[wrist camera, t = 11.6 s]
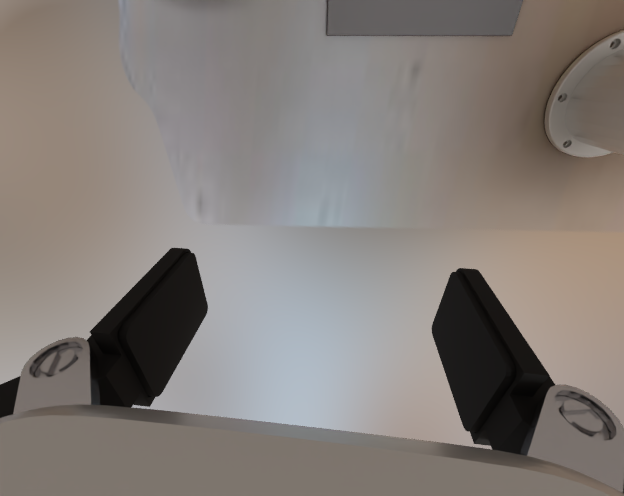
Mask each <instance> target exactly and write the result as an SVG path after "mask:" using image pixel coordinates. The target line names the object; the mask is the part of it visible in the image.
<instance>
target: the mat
mask: <svg viewBox="0 0 624 496" xmlns="http://www.w3.org/2000/svg"><path fill="white" fill-rule="evenodd" d="M522 2H523V0H328V28H327V36H511V35H512V34H513V31H514V28H515V24H516V21H517V18H518V15H519V12H520V9H521V5H522Z"/></svg>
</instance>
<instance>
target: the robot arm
mask: <svg viewBox="0 0 624 496" xmlns="http://www.w3.org/2000/svg"><path fill="white" fill-rule="evenodd" d="M558 97H559V98H558ZM544 123H545V130H546V134H547V136H548V139H549V141H550V142H551V143H552V144H553V146H554V147H556V148H557V149H558V150H560V151H561V152H564V153H566V154H569V155H572V156H576V157H584V158H591V157H599V156H604V155H607V154H611V153H614V152H615V153H618V154H621V155H624V30H622V31H619V32H617V33H614V34H611V35H610V36H608V37H606V38H604V39H602V40H601V41H599V42H597V43H596V44H594V45H593V46H592V47H590V48H589V49H588V50H586V51H585V52H584V53H582V54H581V55H580V56H579V57H578V58H577V59H576V60H575V61H574V62H573V63H572V64H571V65H570V66H569V68H568V69H567V70H566V71H565V72H564V74H563V75H562V76H561V78H560V79H559V81H558V82H557V84H556V86H555V87H554V89H553V91H552V93H551V96H550V98H549V100H548V104H547V107H546V111H545V121H544ZM207 309H208V305H207V301H206V297H205V293H204V289H203V285H202V281H201V277H200V273H199V269H198V265H197V261H196V257H195V255H194V253H191V251H190V250H189V249H182V248H171V249H170V250H169V251H168V252H167V253H166V254H165V255H164V256H163V257H162V258H161V259H160V260H159V261H158V262H157V264H155V265H154V266H153V267H152V268H151V270H150V271H149V272H148V273H147V274H146V275H145V276H144V277H143V278H142V279H141V280H140V281H139V282H138V283H137V284H136V285H135V286H134V287H133V288H132V289H131V290H130V291H129V292H128V293H127V294H126V295H125V296H124V297H123V298H122V299H121V300H120V301H119V302H118V303H117V304H116V305H115V307H113V308H112V309H111V311H110V312H108V314H107V315H106V316H105V317H104V318H103V319H102V320H101V321H100V322H99V323H98V324H97V325H96V326H95V327H94V328H93V329H92V330H91V331H90V333H91V334H92V335H91V336H90V337H89V338H88V340H87V341H86V340H85V339H84V338H78V337H73V338H66V339H62V340H59V341H56V342H54V343H52V344H50V345H48V346H46V347H44V348H43V349H41V350H40V351H38V352H37V353H36V354H35V355H33V356H32V357H31V358H30V359H29V361H28V362H27V363H26V364H25V365H24V368H23V370H22V372H21V376H20V377H17V378H15V379H12V380H10V381H8V382H6V383H3V384H1V385H0V496H624V428H623V426H622V424H621V423H620V421H619V419H618V418H617V417H616V416H615V415H614V413H613V412H612V411H611V410H610V409H609V408H608V407H606V405H604V404H603V403H602V402H601V401H600V400H598V399H597V398H595V397H593V396H592V395H590V394H589V393H587V392H585V391H583V390H580V389H578V388H576V387H572V386H568V385H555V384H554V383H553V381H552V379H551V378H550V376H549V374H548V373H547V371H546V370H545V368H544V367H543V365H542V364H541V362H540V361H539V359H538V358H537V356H536V355H535V354H534V352H533V350H532V349H531V348H530V346H529V345H528V343H527V342H526V340H525V339H524V337H523V336H522V334H521V333H520V331H519V330H518V328H517V327H516V325H515V324H514V322H513V321H512V319H511V318H510V316H509V315H508V313H507V312H506V310H505V309H504V307H503V306H502V304H501V303H500V301H499V300H498V299H497V297H496V296H495V294H494V293H493V291H492V290H491V288H490V287H489V285H488V284H487V282H486V281H485V279H484V278H483V276H482V275H481V273H480V272H479V271H478V270H476V269H463V268H459V269H458V270H457V271H456V272H452V273H451V275H450V278H449V281H448V283H447V286H446V289H445V291H444V294H443V297H442V300H441V303H440V305H439V309H438V311H437V314H436V316H435V319H434V322H433V325H432V334H433V338H434V340H435V344H436V346H437V350H438V353H439V355H440V358H441V361H442V364H443V367H444V370H445V373H446V376H447V379H448V382H449V385H450V388H451V391H452V394H453V397H454V400H455V403H456V406H457V409H458V412H459V415H460V418H461V421H462V424H463V426H464V428H465V430H466V431H470V433H471V436H472V439H473V442H474V444H481V445H490V446H491V447H492V450H490V449H483V448H475V447H469V446H461V445H454V444H447V443H439V442H431V441H423V440H415V439H407V438H398V437H390V436H382V435H373V434H365V433H357V432H348V431H340V430H331V429H322V428H314V427H305V426H297V425H288V424H279V423H271V422H262V421H253V420H243V419H235V418H226V417H216V416H208V415H198V414H189V413H180V412H171V411H162V410H151V409H141V408H131V407H132V405H133V404H134V405H140V406H150V405H151V404H152V402H153V400H154V398H155V397H157V396H159V395H160V394H161V393H162V392H163V390H164V388H165V386H166V385H167V383H168V381H169V379H170V378H171V376H172V374H173V372H174V370H175V369H176V367H177V365H178V364H179V362H180V360H181V358H182V356H183V354H184V353H185V351H186V349H187V347H188V346H189V344H190V342H191V340H192V339H193V337H194V335H195V333H196V332H197V330H198V328H199V326H200V325H201V323H202V321H203V319H204V318H205V316H206V313H207Z"/></svg>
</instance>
